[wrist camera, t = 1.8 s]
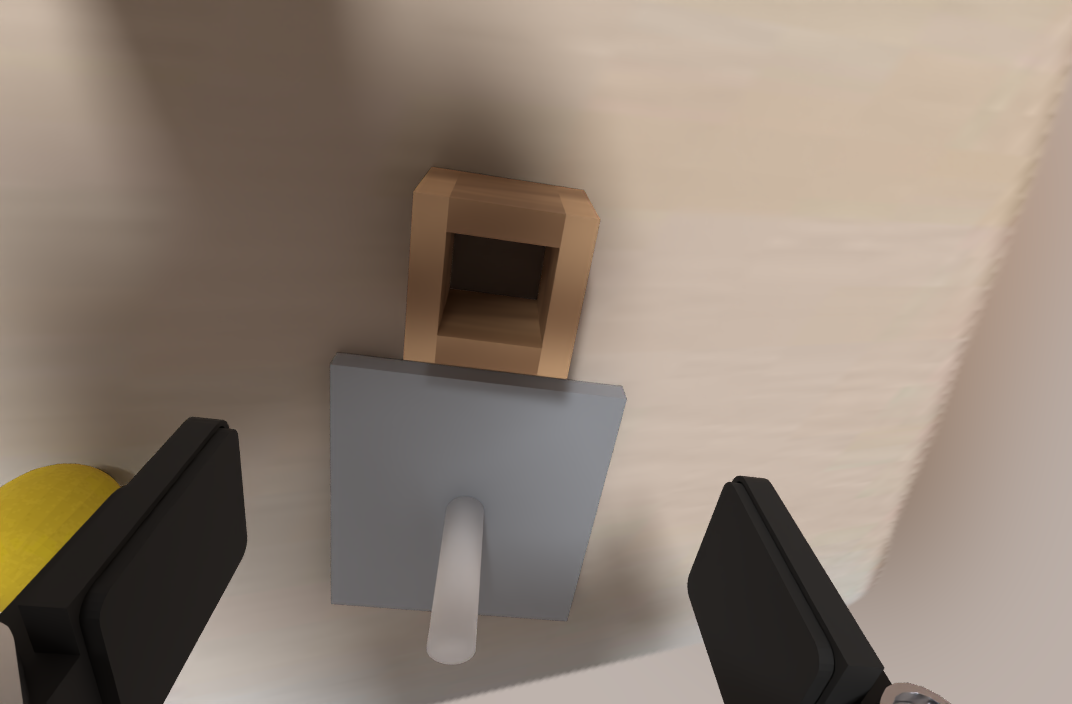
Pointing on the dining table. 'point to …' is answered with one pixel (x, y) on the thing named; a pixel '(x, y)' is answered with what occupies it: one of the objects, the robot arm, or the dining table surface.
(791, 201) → the dining table surface
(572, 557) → the grey peg board
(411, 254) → the brown wooden hollow block
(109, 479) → the lemon
